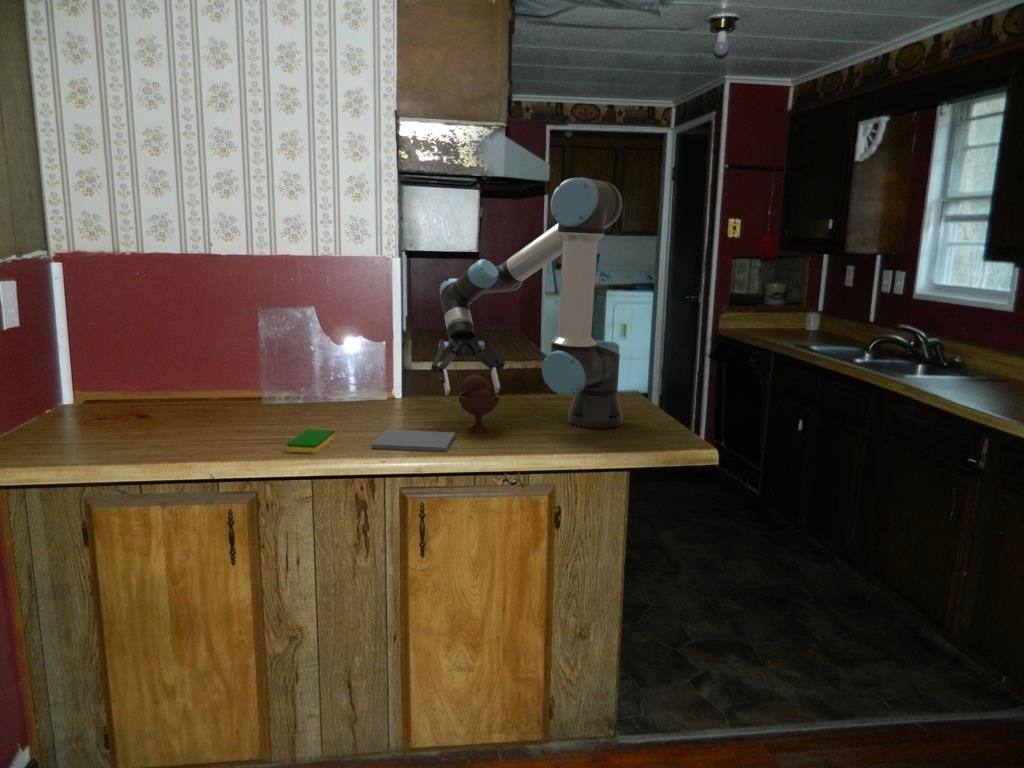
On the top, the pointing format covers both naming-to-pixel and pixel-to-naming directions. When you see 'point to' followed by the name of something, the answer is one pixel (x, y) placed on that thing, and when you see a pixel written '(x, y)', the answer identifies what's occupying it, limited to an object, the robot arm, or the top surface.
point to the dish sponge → (310, 440)
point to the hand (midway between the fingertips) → (473, 391)
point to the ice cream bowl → (478, 400)
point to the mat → (414, 440)
